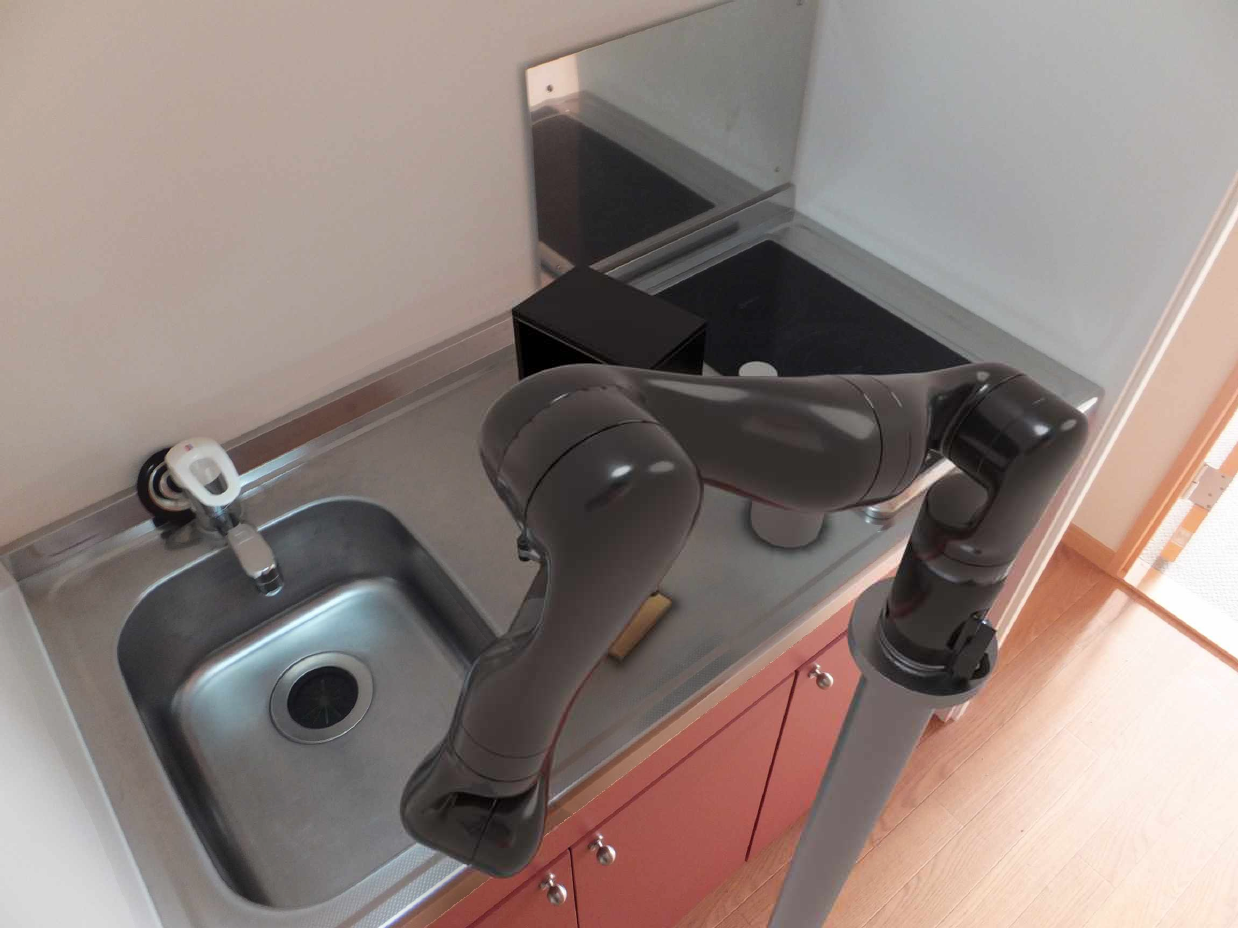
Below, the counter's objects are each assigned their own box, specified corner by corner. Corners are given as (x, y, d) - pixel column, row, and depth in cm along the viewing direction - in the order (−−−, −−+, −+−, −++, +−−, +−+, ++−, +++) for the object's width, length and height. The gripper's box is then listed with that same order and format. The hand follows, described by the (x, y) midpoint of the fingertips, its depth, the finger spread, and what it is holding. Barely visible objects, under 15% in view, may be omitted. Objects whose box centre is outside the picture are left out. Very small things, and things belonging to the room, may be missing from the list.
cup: (736, 523, 105) (745, 465, 97) (774, 485, 109) (785, 426, 102) (797, 559, 101) (810, 501, 94) (833, 518, 105) (849, 459, 98)
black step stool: (698, 423, 117) (707, 320, 105) (638, 479, 110) (641, 374, 98) (584, 364, 126) (580, 262, 113) (522, 412, 118) (511, 308, 106)
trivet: (671, 605, 96) (671, 601, 96) (620, 661, 91) (620, 656, 91) (607, 565, 100) (607, 560, 100) (555, 616, 95) (555, 612, 95)
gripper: (639, 626, 70) (694, 482, 81) (476, 580, 73) (550, 447, 85) (637, 676, 75) (689, 534, 87) (485, 631, 78) (554, 500, 90)
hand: (620, 492), depth 86 cm, fingers closed on energy drink, 5 cm apart
